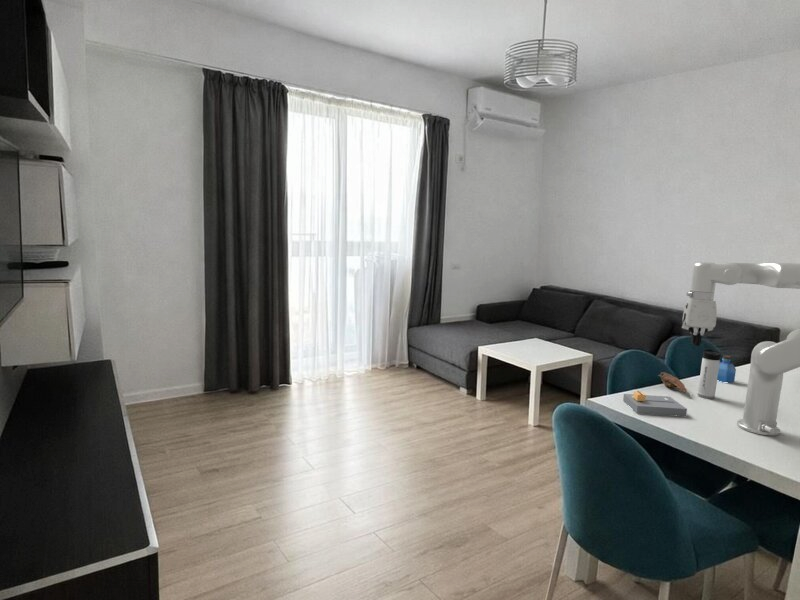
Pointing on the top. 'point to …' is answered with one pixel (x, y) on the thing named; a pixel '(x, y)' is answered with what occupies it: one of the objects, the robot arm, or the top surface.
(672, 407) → the console
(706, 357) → the travel mug
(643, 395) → the fader knob
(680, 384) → the bird sculpture
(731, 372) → the perfume bottle
